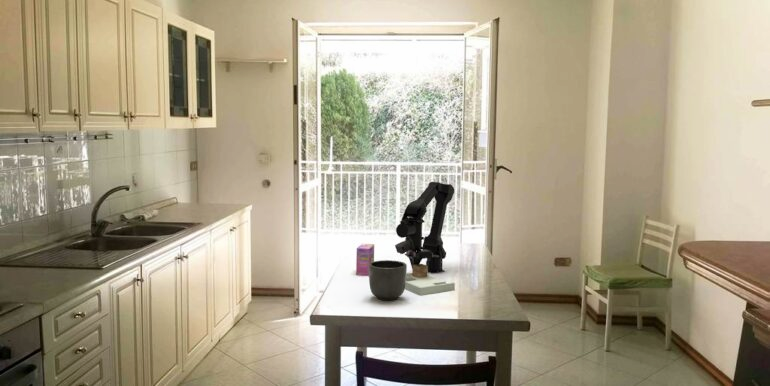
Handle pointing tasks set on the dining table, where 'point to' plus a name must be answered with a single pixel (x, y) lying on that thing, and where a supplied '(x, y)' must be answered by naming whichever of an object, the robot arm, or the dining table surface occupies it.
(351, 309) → the dining table surface
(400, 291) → the planter
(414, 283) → the trap tray
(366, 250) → the box
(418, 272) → the block
